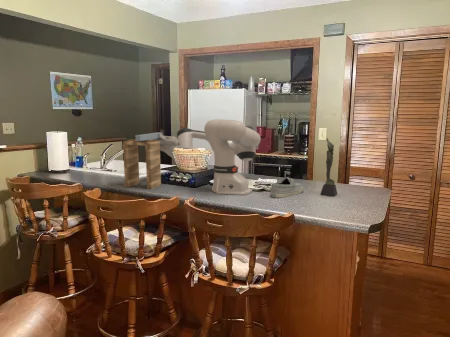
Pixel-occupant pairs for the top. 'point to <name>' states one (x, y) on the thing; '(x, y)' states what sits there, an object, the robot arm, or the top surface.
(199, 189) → the top surface
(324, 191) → the statue
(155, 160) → the oak bridge
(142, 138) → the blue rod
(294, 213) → the top surface
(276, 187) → the boat shoe
